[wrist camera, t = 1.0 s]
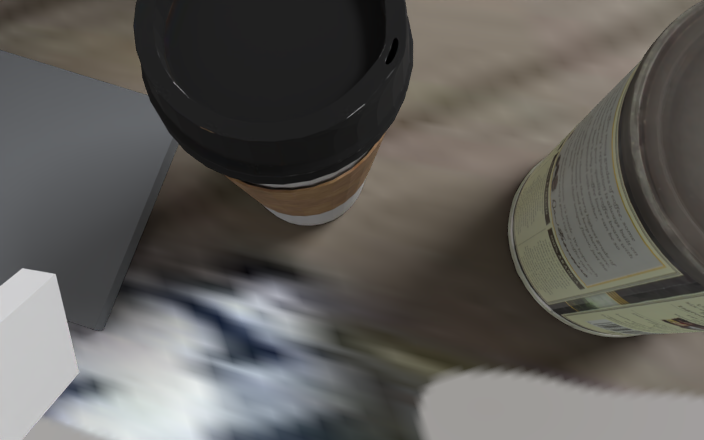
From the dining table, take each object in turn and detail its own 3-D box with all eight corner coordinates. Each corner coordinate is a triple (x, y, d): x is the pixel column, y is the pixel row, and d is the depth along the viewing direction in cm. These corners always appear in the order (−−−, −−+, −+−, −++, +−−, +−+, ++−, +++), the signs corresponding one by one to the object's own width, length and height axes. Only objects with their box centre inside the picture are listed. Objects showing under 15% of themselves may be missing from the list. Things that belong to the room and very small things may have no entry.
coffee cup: (358, 272, 30) (362, 201, 15) (204, 219, 30) (62, 99, 16) (410, 124, 31) (459, -71, 17) (263, 76, 32) (184, -153, 17)
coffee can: (656, 116, 31) (893, -65, 17) (741, 300, 29) (1087, 259, 15) (475, 173, 31) (574, 33, 17) (549, 366, 29) (731, 385, 15)
